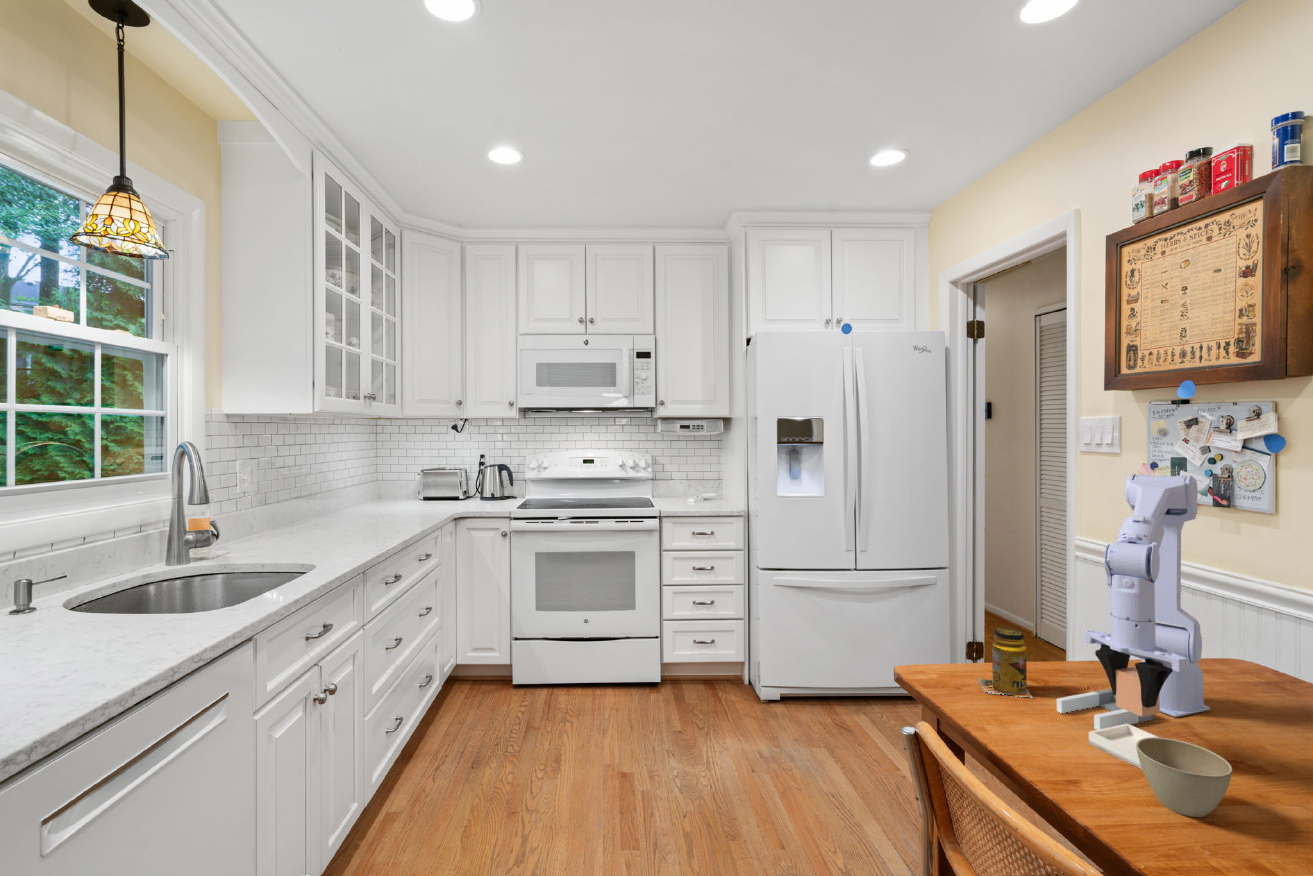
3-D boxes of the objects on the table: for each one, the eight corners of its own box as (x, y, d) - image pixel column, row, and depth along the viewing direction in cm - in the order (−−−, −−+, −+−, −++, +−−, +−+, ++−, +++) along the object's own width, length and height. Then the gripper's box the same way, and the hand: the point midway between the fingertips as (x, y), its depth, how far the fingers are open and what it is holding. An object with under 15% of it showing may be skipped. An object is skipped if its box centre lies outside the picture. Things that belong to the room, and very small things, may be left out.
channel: (1093, 704, 114) (1093, 691, 114) (1138, 722, 107) (1138, 709, 107) (1056, 711, 112) (1056, 698, 112) (1099, 731, 104) (1099, 717, 104)
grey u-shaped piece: (1109, 701, 116) (1108, 688, 116) (1154, 719, 108) (1154, 706, 108) (1093, 704, 114) (1093, 691, 114) (1138, 722, 107) (1138, 709, 107)
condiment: (1033, 699, 117) (1032, 638, 117) (985, 694, 120) (984, 634, 120) (1022, 684, 124) (1022, 626, 124) (977, 680, 127) (976, 623, 127)
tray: (1127, 735, 102) (1127, 723, 102) (1187, 761, 94) (1187, 749, 94) (1088, 743, 100) (1088, 731, 100) (1147, 772, 91) (1147, 759, 91)
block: (1133, 702, 100) (1132, 666, 100) (1159, 713, 96) (1159, 675, 96) (1116, 706, 99) (1115, 669, 99) (1142, 716, 95) (1141, 679, 95)
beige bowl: (1118, 787, 87) (1117, 738, 87) (1181, 783, 88) (1181, 735, 88) (1184, 832, 77) (1183, 777, 77) (1254, 827, 78) (1254, 773, 78)
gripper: (1071, 607, 103) (1072, 686, 103) (1164, 632, 89) (1166, 723, 89) (1101, 603, 105) (1102, 680, 105) (1196, 627, 91) (1198, 716, 91)
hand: (1133, 700), depth 97 cm, fingers closed on block, 4 cm apart
